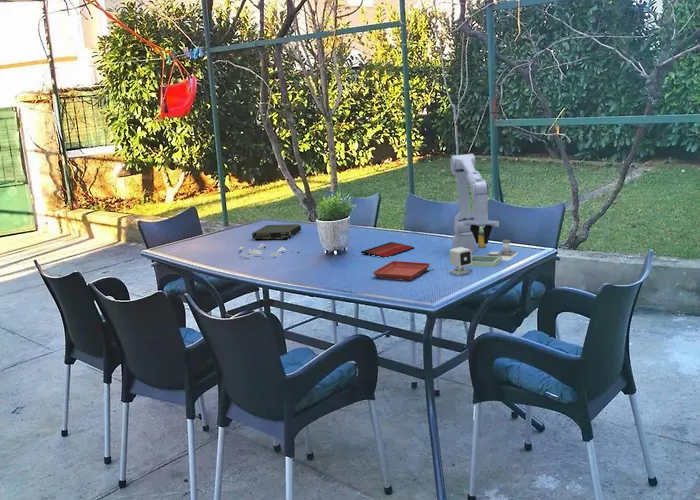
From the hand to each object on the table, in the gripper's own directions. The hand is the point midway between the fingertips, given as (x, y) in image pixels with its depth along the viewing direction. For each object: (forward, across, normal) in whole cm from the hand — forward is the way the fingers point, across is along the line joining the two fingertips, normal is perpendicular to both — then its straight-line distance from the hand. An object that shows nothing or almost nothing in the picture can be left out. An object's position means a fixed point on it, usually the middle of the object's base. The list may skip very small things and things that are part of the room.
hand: (482, 243), depth 286 cm
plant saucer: (+10, -28, -19) cm, 35 cm away
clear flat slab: (+10, -115, +2) cm, 115 cm away
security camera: (+10, -5, -12) cm, 16 cm away
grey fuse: (+8, +5, +16) cm, 19 cm away
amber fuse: (+2, 0, 0) cm, 2 cm away
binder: (+10, -52, +16) cm, 55 cm away
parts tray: (+10, 0, 0) cm, 10 cm away
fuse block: (+10, +3, +12) cm, 16 cm away
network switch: (+10, -132, +37) cm, 137 cm away
